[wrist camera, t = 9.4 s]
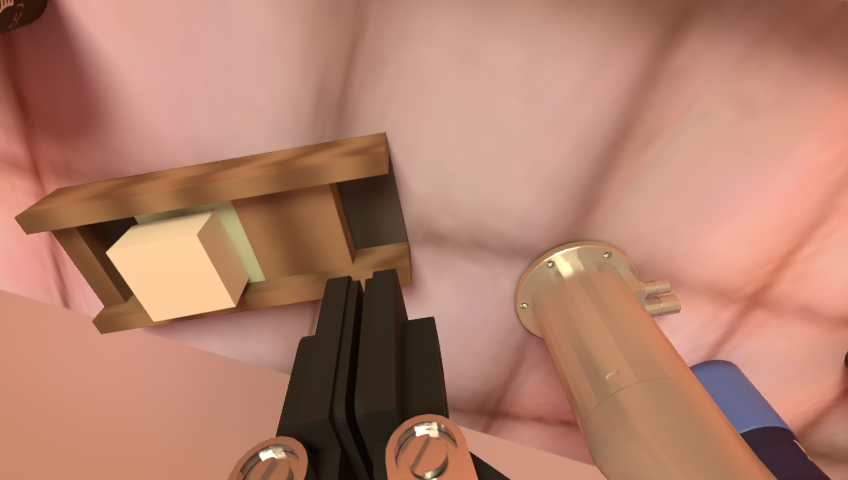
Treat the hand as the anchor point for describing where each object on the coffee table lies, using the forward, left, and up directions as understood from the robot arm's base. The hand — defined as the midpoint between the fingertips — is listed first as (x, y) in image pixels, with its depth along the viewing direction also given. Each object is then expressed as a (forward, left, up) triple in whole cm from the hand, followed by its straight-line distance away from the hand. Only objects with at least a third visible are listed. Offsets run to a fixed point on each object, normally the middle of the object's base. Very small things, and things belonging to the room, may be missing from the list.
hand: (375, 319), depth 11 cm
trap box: (+15, +10, -27) cm, 33 cm away
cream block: (+19, +11, -24) cm, 32 cm away
